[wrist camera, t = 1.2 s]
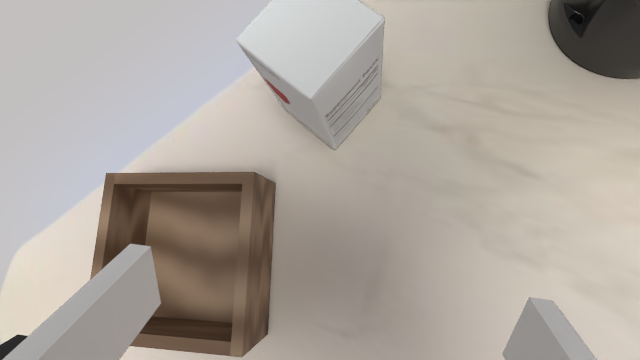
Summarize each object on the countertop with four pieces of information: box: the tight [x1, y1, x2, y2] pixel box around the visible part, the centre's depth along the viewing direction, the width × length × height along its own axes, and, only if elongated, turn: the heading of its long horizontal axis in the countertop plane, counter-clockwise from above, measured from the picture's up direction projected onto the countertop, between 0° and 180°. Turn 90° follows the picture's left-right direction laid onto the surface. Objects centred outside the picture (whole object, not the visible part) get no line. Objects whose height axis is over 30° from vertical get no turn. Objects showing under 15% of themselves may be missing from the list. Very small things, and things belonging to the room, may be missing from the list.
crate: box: [90, 172, 276, 357], centre depth 35 cm, size 17×17×7 cm
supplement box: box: [236, 0, 385, 150], centre depth 32 cm, size 9×9×15 cm
